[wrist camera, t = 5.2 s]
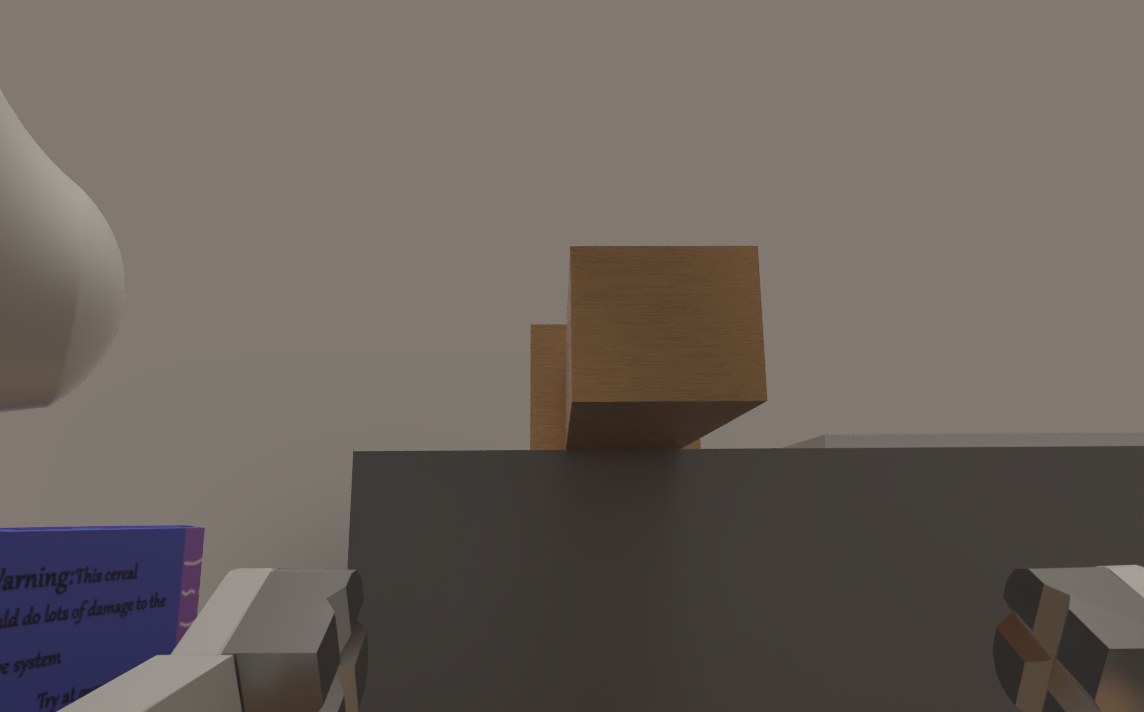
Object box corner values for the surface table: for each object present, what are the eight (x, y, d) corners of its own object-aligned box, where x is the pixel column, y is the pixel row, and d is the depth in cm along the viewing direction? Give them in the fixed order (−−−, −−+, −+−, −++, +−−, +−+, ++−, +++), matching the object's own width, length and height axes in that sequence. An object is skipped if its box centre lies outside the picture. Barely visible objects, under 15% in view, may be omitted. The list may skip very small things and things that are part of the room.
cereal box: (125, 851, 58) (157, 525, 63) (175, 859, 57) (204, 524, 62) (-148, 980, 42) (-76, 528, 47) (-87, 996, 40) (-19, 528, 45)
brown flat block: (506, 401, 12) (508, 114, 13) (535, 470, 28) (536, 342, 29) (832, 400, 12) (809, 114, 13) (670, 469, 28) (666, 342, 29)
